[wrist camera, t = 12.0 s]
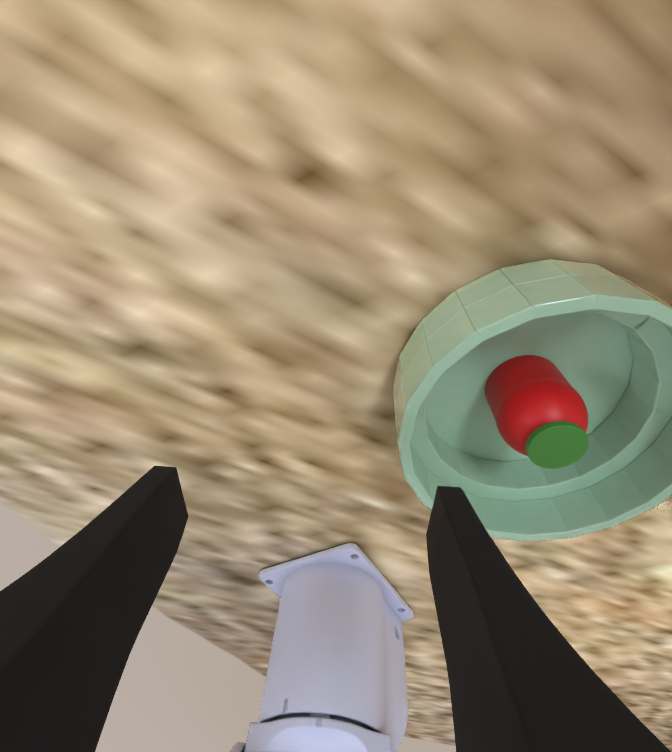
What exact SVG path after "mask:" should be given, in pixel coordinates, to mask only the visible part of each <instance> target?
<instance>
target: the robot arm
mask: <svg viewBox="0 0 672 752" xmlns="http://www.w3.org/2000/svg"><path fill="white" fill-rule="evenodd" d="M187 519H188V513H187V509H186V505H185V501H184V497H183V493H182V489H181V485H180V481H179V477H178V473H177V469H176V467H163V466H154V467H153V468H152V469H151V470H149V471H148V472H147V473H146V474H145V475H144V476H142V477H141V478H140V479H139V480H138V481H137V482H136V483H135V484H133V485H132V486H131V487H130V488H129V489H128V490H127V491H126V492H124V493H123V494H122V495H121V496H120V497H119V498H118V499H117V500H115V501H114V502H113V503H112V504H111V505H110V506H109V507H108V508H106V509H105V510H104V511H103V512H102V513H101V514H99V515H98V516H97V517H96V518H95V519H94V520H92V521H91V522H90V523H89V524H88V525H87V526H85V527H84V528H83V529H82V530H81V531H79V532H78V533H77V534H76V535H75V536H73V537H72V538H71V539H70V540H68V541H67V542H66V543H65V544H63V545H62V546H61V547H60V548H58V549H57V550H56V551H55V552H53V553H52V554H51V555H50V556H48V557H47V558H46V559H44V560H43V561H42V562H41V563H39V564H38V565H37V566H35V567H34V568H33V569H31V570H30V571H29V572H27V573H26V574H24V575H23V576H22V577H20V578H19V579H18V580H16V581H14V582H13V583H12V584H10V585H9V586H8V587H6V588H5V589H3V590H2V591H0V752H95V750H96V747H97V744H98V741H99V738H100V735H101V732H102V729H103V726H104V723H105V721H106V718H107V715H108V712H109V709H110V706H111V703H112V700H113V697H114V695H115V692H116V689H117V687H118V684H119V681H120V679H121V676H122V673H123V670H124V668H125V665H126V662H127V660H128V657H129V654H130V652H131V650H132V647H133V645H134V643H135V640H136V638H137V636H138V633H139V631H140V629H141V627H142V625H143V623H144V621H145V619H146V616H147V615H148V612H149V610H150V608H151V606H152V604H153V602H154V600H155V598H156V596H157V593H158V591H159V589H160V587H161V585H162V583H163V581H164V579H165V576H166V574H167V572H168V570H169V568H170V566H171V563H172V561H173V559H174V557H175V555H176V552H177V549H178V547H179V544H180V541H181V538H182V535H183V532H184V529H185V525H186V522H187ZM426 536H427V550H428V562H429V573H430V579H431V584H432V590H433V595H434V600H435V606H436V611H437V616H438V622H439V627H440V632H441V637H442V643H443V648H444V653H445V659H446V664H447V671H448V677H449V684H450V693H451V703H452V712H453V722H454V731H455V742H456V752H671V751H670V750H669V749H668V748H667V747H666V746H665V745H664V744H663V743H662V742H661V741H660V740H659V739H658V738H657V737H656V736H655V735H654V734H653V733H652V732H651V731H650V730H649V729H648V728H647V727H646V726H645V725H644V724H643V723H642V722H641V721H640V720H639V719H638V718H637V717H636V716H635V715H634V714H633V713H632V712H631V711H630V710H629V709H628V708H627V707H626V706H625V704H624V703H623V702H622V701H621V700H620V699H619V698H618V697H617V696H616V695H615V694H614V693H613V692H612V691H611V690H610V689H609V688H608V686H607V685H606V684H605V683H604V682H603V681H602V680H601V679H600V678H599V677H598V676H597V675H596V674H595V673H594V672H593V670H592V669H591V668H590V667H589V666H588V665H587V664H586V662H585V661H584V660H583V659H582V658H581V657H580V656H579V654H578V653H577V652H576V651H575V650H574V649H573V647H572V646H571V645H570V644H569V643H568V642H567V640H566V639H565V638H564V637H563V636H562V634H561V633H560V632H559V631H558V629H557V628H556V627H555V626H554V625H553V623H552V622H551V621H550V620H549V618H548V617H547V616H546V615H545V613H544V612H543V611H542V609H541V608H540V607H539V606H538V604H537V603H536V602H535V600H534V599H533V598H532V596H531V595H530V594H529V592H528V591H527V589H526V588H525V587H524V585H523V584H522V583H521V581H520V580H519V578H518V577H517V576H516V574H515V573H514V571H513V570H512V568H511V567H510V565H509V564H508V563H507V561H506V560H505V558H504V557H503V555H502V554H501V552H500V551H499V549H498V548H497V546H496V545H495V543H494V541H493V540H492V538H491V537H490V535H489V534H488V532H487V530H486V529H485V527H484V525H483V524H482V522H481V520H480V519H479V517H478V515H477V514H476V512H475V510H474V509H473V507H472V505H471V503H470V502H469V500H468V498H467V496H466V494H465V493H464V491H463V490H462V489H461V487H450V486H437V490H436V494H435V499H434V503H433V507H432V512H431V516H430V521H429V525H428V530H427V534H426ZM258 578H259V579H260V580H261V581H262V582H263V583H264V584H265V585H266V586H267V587H268V588H270V589H271V590H272V591H273V592H274V593H275V594H276V595H277V596H278V597H279V598H280V605H279V610H278V616H277V621H276V626H275V632H274V637H273V643H272V648H271V653H270V659H269V664H268V670H267V675H266V681H265V686H264V691H263V697H262V702H261V708H260V713H259V719H258V723H255V722H251V723H250V725H249V730H248V736H247V741H246V743H241V742H238V743H236V744H235V745H234V746H233V747H232V749H231V750H230V752H396V751H397V750H398V748H399V746H400V744H401V741H402V739H403V736H404V734H405V730H406V725H407V720H408V698H407V684H406V669H405V654H404V639H403V625H402V621H407V620H410V619H412V618H413V611H412V609H411V608H410V607H409V606H408V605H407V604H406V602H405V601H404V600H403V599H402V598H401V596H400V595H399V594H398V593H397V592H396V591H395V589H394V588H393V587H392V586H391V585H390V583H389V582H388V581H387V580H386V579H385V578H384V576H383V575H382V574H381V573H380V572H379V570H378V569H377V568H376V567H375V566H374V565H373V563H372V562H371V561H370V560H369V559H368V557H367V556H366V555H365V554H364V553H363V552H362V550H361V549H360V548H359V547H358V546H357V545H356V544H354V543H347V544H344V545H341V546H337V547H334V548H331V549H328V550H325V551H321V552H318V553H315V554H312V555H308V556H305V557H302V558H299V559H295V560H292V561H289V562H286V563H282V564H279V565H276V566H273V567H269V568H266V569H263V570H261V571H260V572H259V576H258Z"/></svg>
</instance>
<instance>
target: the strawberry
mask: <svg viewBox="0 0 672 752" xmlns="http://www.w3.org/2000/svg"><path fill="white" fill-rule="evenodd" d="M485 397H486V400H487V402H488V404H489V407H490V409H491V411H492V414H493V416H494V418H495V421H496V425H497V428H498V431H499V433H500V435H501V436H502V438H503V439H504V441H505V442H506V443H507V444H508V445H509V446H510V447H511V448H513V449H514V450H515V451H517V452H519V453H520V454H523V455H525V456H528V457H529V459H530V460H531V461H532V462H533V463H534V464H535V465H537V466H539V467H542V468H548V469H556V468H562V467H566V466H568V465H571V464H573V463H575V462H576V461H578V460H579V459H580V458H581V457H582V456H583V455H584V454H585V452H586V451H587V449H588V445H589V440H588V436H587V435H586V431H587V428H588V411H587V407H586V405H585V402H584V400H583V399H582V397H581V396H580V394H579V393H578V392H577V391H576V390H575V389H574V388H573V387H572V386H571V385H570V384H569V382H568V381H567V380H566V378H565V377H564V376H563V374H562V373H561V372H560V371H559V369H558V368H557V367H556V365H555V364H554V363H552V362H551V361H550V360H548V359H546V358H543V357H540V356H535V355H523V356H518V357H514V358H511V359H509V360H507V361H505V362H503V363H502V364H500V365H499V366H498V367H497V368H496V369H494V371H493V372H492V373H491V374H490V376H489V377H488V380H487V382H486V385H485Z"/></svg>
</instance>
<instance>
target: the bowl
mask: <svg viewBox="0 0 672 752" xmlns="http://www.w3.org/2000/svg"><path fill="white" fill-rule="evenodd" d="M523 355H535V356H540V357H543V358H546V359H548V360H550V361H551V362H552V363H554V364H555V365H556V367H557V368H558V369H559V371H560V372H561V373H562V374H563V376H564V377H565V378H566V380H567V381H568V382H569V384H570V385H571V386H572V387H573V388H574V389H575V390H576V391H577V392H578V393H579V394H580V396H581V397H582V399H583V400H584V402H585V405H586V407H587V411H588V428H587V431H586V435H587V436H588V440H589V445H588V449H587V451H586V452H585V454H584V455H583V456H582V457H581V458H580V459H579V460H578V461H576V462H575V463H573V464H571V465H568V466H566V467H562V468H556V469H548V468H542V467H539V466H537V465H535V464H534V463H533V462H532V461H531V460H530V459H529V457H528V456H525V455H523V454H520V453H519V452H517V451H515V450H514V449H513V448H511V447H510V446H509V445H508V444H507V443H506V442H505V441H504V439H503V438H502V436H501V435H500V433H499V431H498V428H497V425H496V421H495V418H494V416H493V414H492V411H491V409H490V407H489V404H488V402H487V400H486V397H485V385H486V382H487V380H488V377H489V376H490V374H491V373H492V372H493V371H494V369H496V368H497V367H498V366H499V365H500V364H502V363H503V362H505V361H507V360H509V359H511V358H514V357H518V356H523ZM393 399H394V410H395V422H396V433H397V444H398V449H399V455H400V460H401V465H402V471H403V475H404V477H405V479H406V480H407V482H408V483H409V485H410V486H411V488H412V489H413V491H414V492H415V494H416V495H417V497H418V498H419V500H420V501H421V503H423V505H425V506H426V507H427V508H429V509H430V510H432V507H433V503H434V499H435V494H436V490H437V486H450V487H461V489H462V490H463V491H464V493H465V494H466V496H467V498H468V500H469V502H470V503H471V505H472V507H473V509H474V510H475V512H476V514H477V515H478V517H479V519H480V520H481V522H482V524H483V525H484V527H485V529H486V530H487V532H488V534H489V535H490V537H492V538H500V539H508V540H517V541H540V540H554V539H567V538H572V537H576V536H580V535H584V534H588V533H591V532H595V531H599V530H603V529H607V528H610V527H613V526H616V525H618V524H620V523H622V522H625V521H627V520H629V519H631V518H633V517H635V516H637V515H639V514H642V513H644V512H646V511H648V510H650V509H652V508H654V507H655V506H658V505H659V504H660V503H662V502H663V501H664V500H666V499H667V498H668V497H670V496H671V495H672V305H670V304H668V303H667V302H665V301H663V300H662V299H660V298H658V297H657V296H655V295H653V294H652V293H650V292H648V291H647V290H645V289H643V288H642V287H640V286H638V285H637V284H635V283H633V282H631V281H629V280H627V279H625V278H623V277H621V276H619V275H617V274H615V273H614V272H612V271H610V270H608V269H606V268H604V267H602V266H600V265H597V264H589V263H580V262H571V261H563V260H554V259H550V260H549V259H547V260H542V261H536V262H531V263H525V264H520V265H515V266H509V267H504V268H500V269H498V270H496V271H494V272H491V273H489V274H487V275H485V276H483V277H481V278H479V279H477V280H475V281H473V282H471V283H469V284H467V285H465V286H463V287H461V288H459V289H457V290H456V291H454V292H452V293H451V294H450V295H449V296H448V297H447V298H446V299H445V300H443V301H442V302H441V303H440V304H439V305H438V306H437V307H436V308H435V309H433V310H432V311H431V312H430V313H429V314H428V315H427V316H426V317H424V318H423V319H422V320H421V322H419V324H418V326H417V327H416V329H415V331H414V332H413V334H412V336H411V337H410V339H409V341H408V342H407V344H406V345H405V347H404V349H403V350H402V352H401V354H400V356H399V360H398V365H397V370H396V375H395V379H394V384H393Z"/></svg>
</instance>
